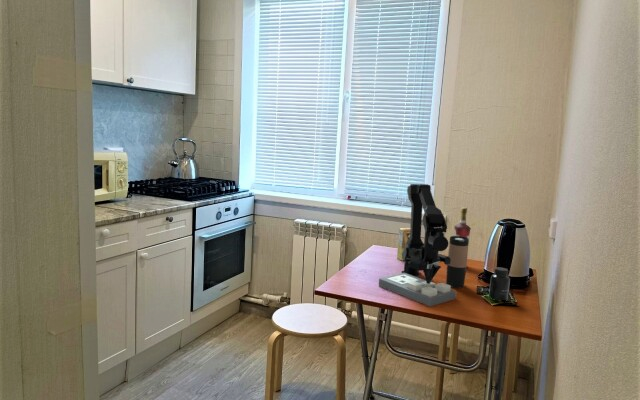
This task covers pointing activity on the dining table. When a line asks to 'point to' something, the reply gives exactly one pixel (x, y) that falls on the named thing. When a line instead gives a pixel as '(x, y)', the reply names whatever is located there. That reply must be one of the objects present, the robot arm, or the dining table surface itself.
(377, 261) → the dining table surface
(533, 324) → the dining table surface
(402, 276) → the button board
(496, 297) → the supplement bottle
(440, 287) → the button
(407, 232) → the candy box
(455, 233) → the liquor
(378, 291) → the dining table surface
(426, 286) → the button
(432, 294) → the button
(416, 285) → the button
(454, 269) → the travel mug
